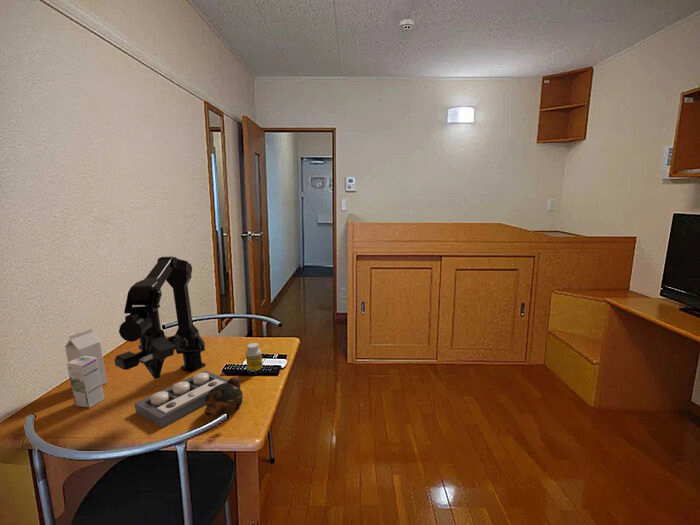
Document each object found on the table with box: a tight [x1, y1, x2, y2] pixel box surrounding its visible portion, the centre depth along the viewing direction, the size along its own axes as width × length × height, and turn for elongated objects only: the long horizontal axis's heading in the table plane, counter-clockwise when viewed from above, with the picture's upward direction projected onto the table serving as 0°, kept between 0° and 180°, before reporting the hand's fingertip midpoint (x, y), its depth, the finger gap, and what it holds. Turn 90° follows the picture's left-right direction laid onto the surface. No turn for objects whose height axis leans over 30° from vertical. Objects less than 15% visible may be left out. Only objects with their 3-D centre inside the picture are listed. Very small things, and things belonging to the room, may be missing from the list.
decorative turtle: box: [203, 376, 244, 418], centre depth 117 cm, size 10×15×8 cm, turn 167°
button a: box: [150, 390, 169, 406], centre depth 119 cm, size 5×5×2 cm
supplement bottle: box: [245, 342, 264, 372], centre depth 141 cm, size 5×5×10 cm
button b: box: [172, 381, 190, 395], centre depth 124 cm, size 5×5×2 cm
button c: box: [192, 372, 209, 386], centre depth 130 cm, size 5×5×2 cm
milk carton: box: [64, 328, 108, 386], centre depth 133 cm, size 7×7×19 cm
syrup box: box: [66, 356, 105, 409], centre depth 123 cm, size 6×6×14 cm
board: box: [134, 370, 229, 428], centre depth 123 cm, size 14×24×4 cm, turn 145°
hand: (156, 378), depth 117 cm, fingers closed
